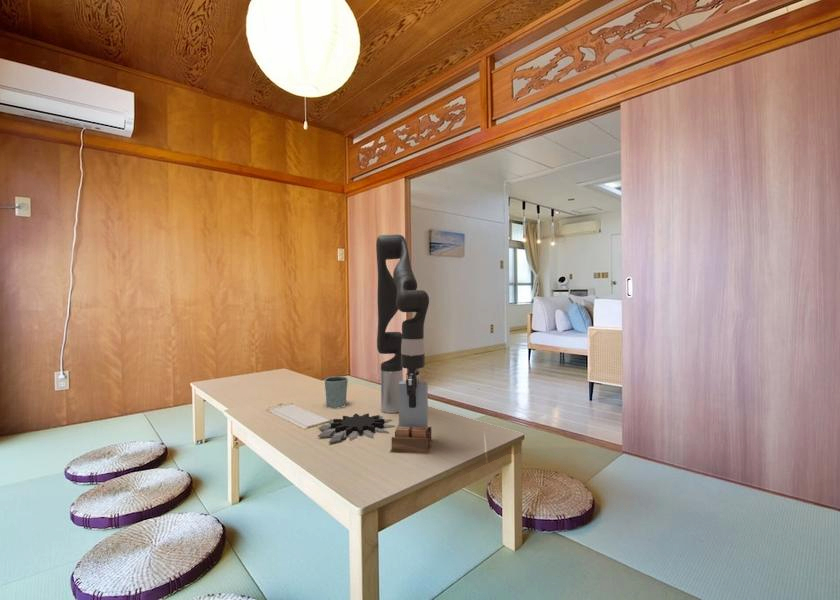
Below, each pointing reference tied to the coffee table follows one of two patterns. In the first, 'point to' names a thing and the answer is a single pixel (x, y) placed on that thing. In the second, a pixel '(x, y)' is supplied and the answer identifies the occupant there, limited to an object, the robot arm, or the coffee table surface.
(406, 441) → the rack
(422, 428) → the offcut
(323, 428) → the decorative piece
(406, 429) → the offcut
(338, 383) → the teal cup
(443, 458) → the coffee table surface
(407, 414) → the tall board
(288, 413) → the baseboard molding
